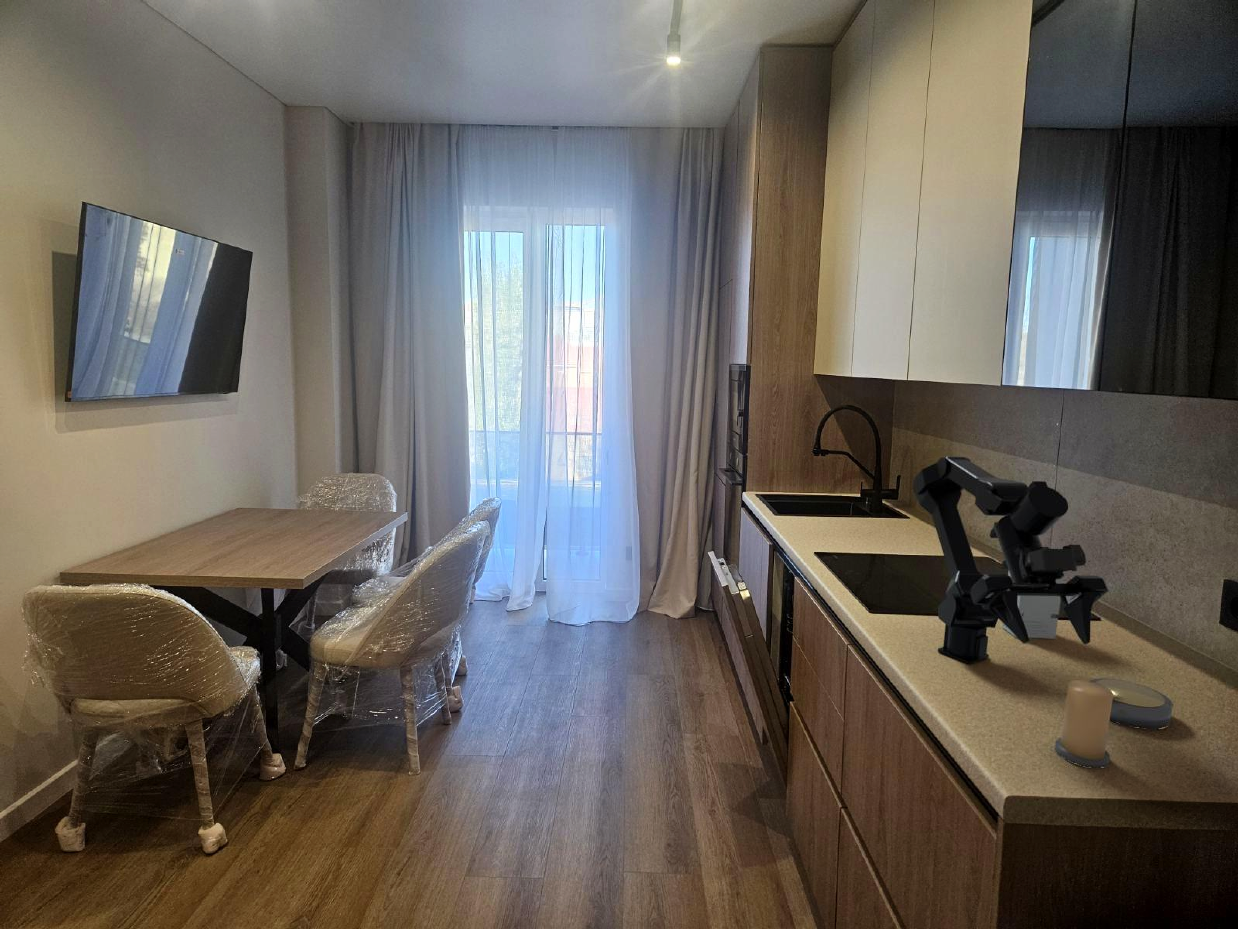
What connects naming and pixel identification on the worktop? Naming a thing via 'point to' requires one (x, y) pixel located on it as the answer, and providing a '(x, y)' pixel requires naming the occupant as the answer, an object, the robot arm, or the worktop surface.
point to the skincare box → (1039, 614)
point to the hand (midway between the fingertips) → (1056, 643)
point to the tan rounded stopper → (1086, 724)
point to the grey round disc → (1137, 704)
